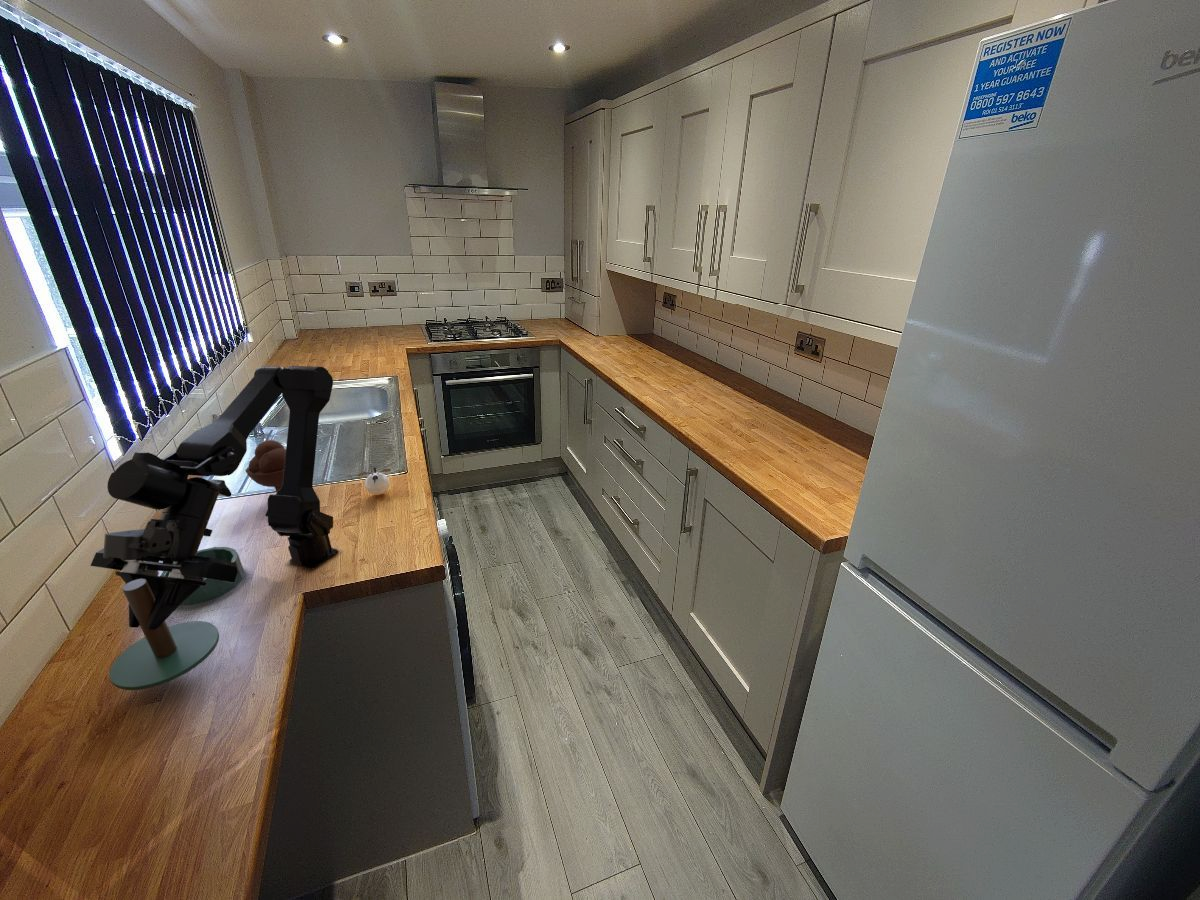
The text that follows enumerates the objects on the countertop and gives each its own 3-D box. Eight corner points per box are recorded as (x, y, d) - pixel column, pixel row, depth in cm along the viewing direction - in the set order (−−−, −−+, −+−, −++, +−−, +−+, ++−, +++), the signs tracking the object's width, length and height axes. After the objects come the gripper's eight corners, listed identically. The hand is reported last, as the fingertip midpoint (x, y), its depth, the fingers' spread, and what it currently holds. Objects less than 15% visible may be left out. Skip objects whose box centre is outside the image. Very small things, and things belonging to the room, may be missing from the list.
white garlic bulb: (362, 506, 124) (356, 480, 121) (364, 491, 131) (358, 466, 128) (395, 500, 126) (389, 475, 124) (395, 486, 133) (390, 462, 130)
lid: (186, 618, 84) (156, 549, 78) (239, 639, 79) (211, 568, 74) (92, 677, 73) (50, 602, 68) (147, 705, 69) (107, 627, 63)
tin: (219, 562, 105) (211, 541, 103) (258, 575, 101) (251, 554, 99) (155, 598, 95) (145, 576, 93) (196, 614, 91) (187, 591, 89)
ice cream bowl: (246, 506, 125) (227, 449, 119) (287, 486, 135) (271, 432, 129) (278, 514, 122) (260, 455, 116) (317, 492, 131) (303, 437, 125)
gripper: (75, 499, 72) (20, 617, 66) (193, 508, 69) (144, 633, 63) (151, 518, 82) (108, 622, 77) (256, 527, 79) (219, 636, 74)
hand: (142, 628), depth 72 cm, fingers closed on lid, 2 cm apart
